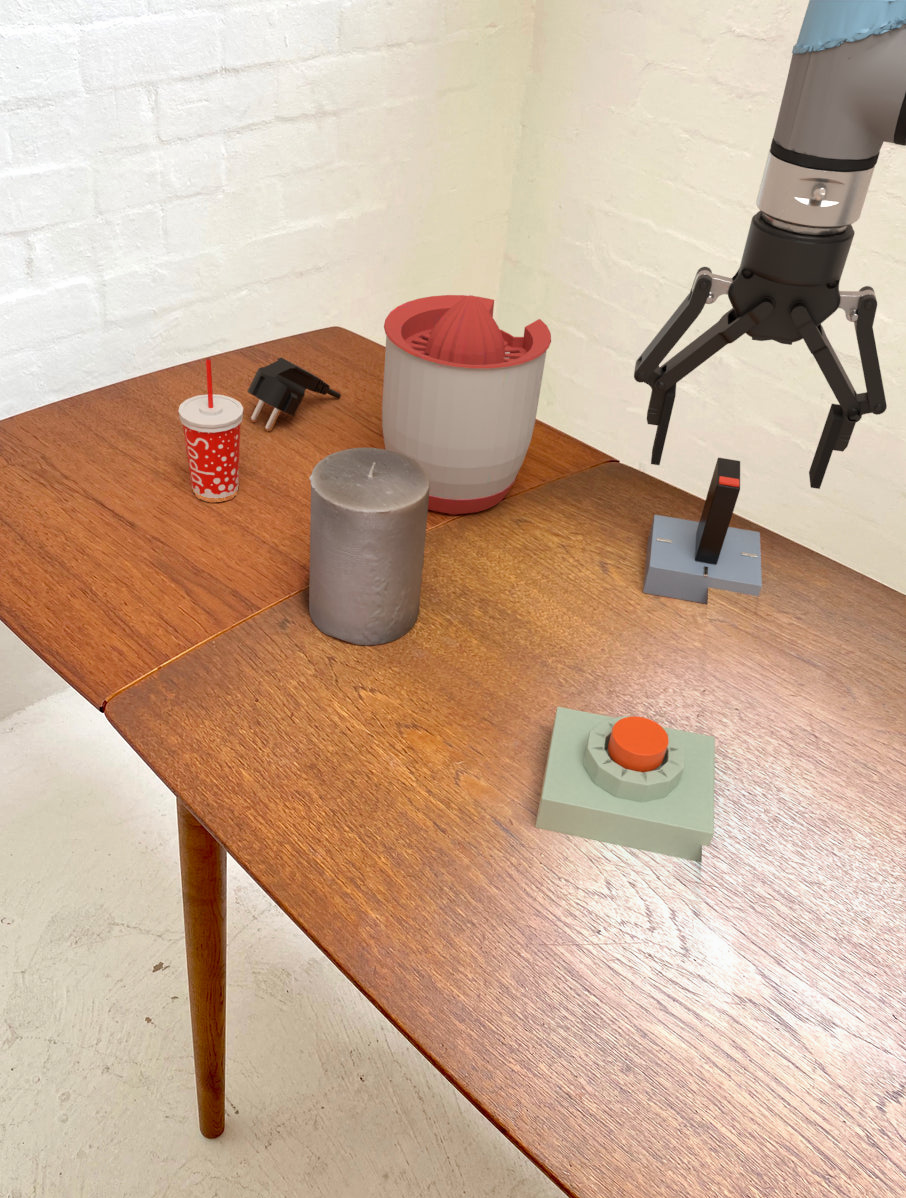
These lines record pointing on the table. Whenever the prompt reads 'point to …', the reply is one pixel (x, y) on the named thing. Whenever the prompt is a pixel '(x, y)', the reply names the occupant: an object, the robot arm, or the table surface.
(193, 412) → the beverage cup
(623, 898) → the table surface
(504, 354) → the citrus juicer
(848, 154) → the robot arm
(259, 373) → the power plug
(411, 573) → the pillar candle
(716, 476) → the black lever red tip
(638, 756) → the orange push button
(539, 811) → the push button base
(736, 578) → the dial panel
